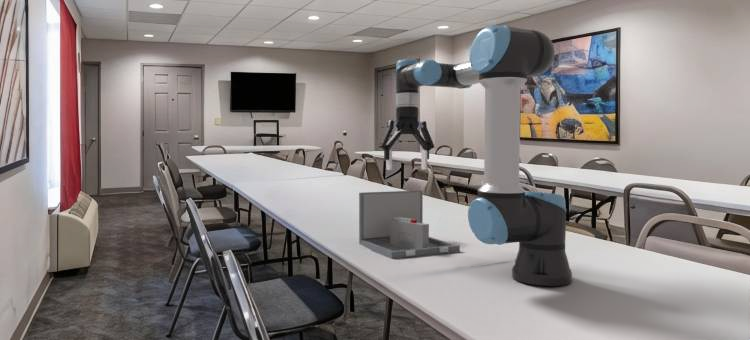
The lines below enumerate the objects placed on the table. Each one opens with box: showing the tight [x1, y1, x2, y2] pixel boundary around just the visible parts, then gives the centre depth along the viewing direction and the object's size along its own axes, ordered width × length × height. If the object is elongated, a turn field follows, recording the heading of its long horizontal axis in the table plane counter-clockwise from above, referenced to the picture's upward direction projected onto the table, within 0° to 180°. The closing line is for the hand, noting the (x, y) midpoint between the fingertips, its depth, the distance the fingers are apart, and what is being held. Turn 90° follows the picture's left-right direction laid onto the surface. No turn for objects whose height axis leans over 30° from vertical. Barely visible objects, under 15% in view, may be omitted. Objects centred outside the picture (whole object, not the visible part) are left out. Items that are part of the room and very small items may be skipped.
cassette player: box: [389, 217, 430, 250], centre depth 167 cm, size 16×3×10 cm, turn 39°
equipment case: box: [358, 189, 461, 260], centre depth 167 cm, size 24×24×18 cm
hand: (407, 169), depth 173 cm, fingers open, 13 cm apart
